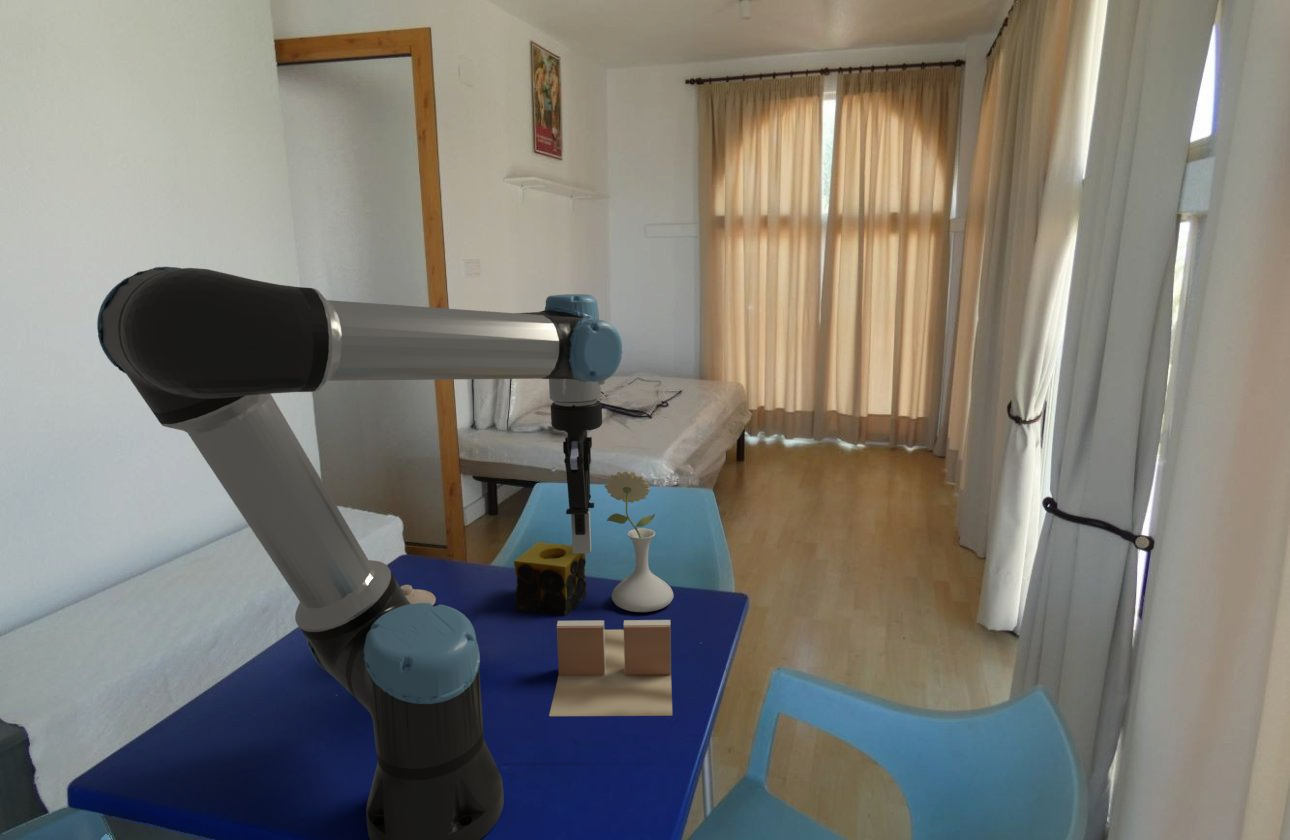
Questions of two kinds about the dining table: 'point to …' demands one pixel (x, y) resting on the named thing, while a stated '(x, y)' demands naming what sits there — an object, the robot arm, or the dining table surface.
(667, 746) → the dining table surface
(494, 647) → the dining table surface
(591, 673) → the tile
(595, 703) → the board
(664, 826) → the dining table surface
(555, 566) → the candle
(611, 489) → the flower in vase
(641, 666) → the tile
